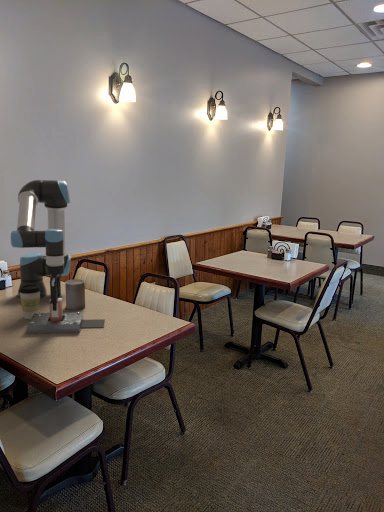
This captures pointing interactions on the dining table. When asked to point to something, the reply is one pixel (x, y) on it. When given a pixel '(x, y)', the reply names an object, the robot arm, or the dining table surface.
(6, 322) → the dining table surface
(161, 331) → the dining table surface
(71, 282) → the pillar candle
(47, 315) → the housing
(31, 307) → the coffee cup
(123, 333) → the dining table surface
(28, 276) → the robot arm
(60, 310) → the pink round peg
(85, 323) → the mat
